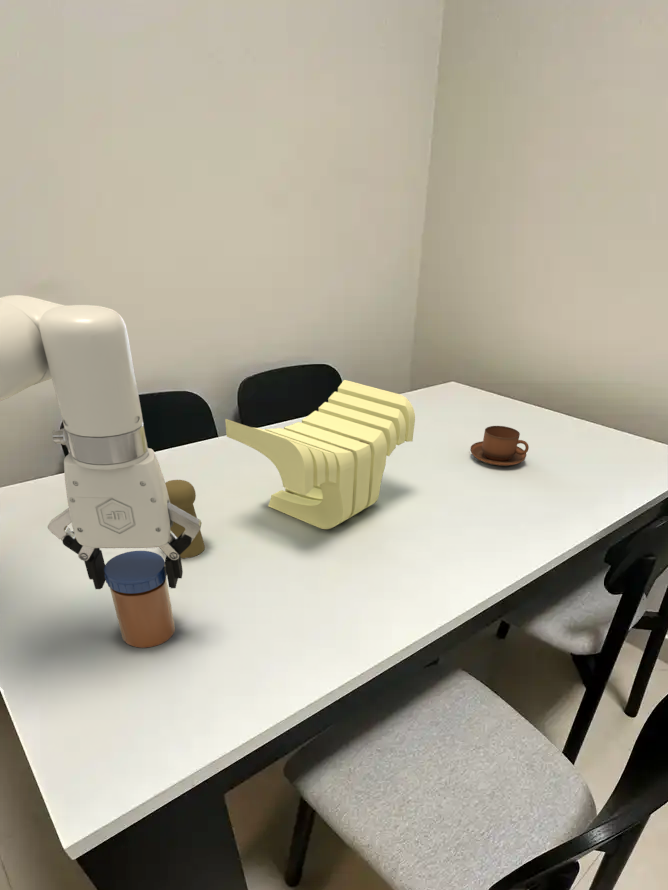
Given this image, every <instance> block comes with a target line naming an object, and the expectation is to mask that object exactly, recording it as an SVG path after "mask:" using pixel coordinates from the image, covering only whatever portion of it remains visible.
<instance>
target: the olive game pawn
mask: <svg viewBox="0 0 668 890" xmlns="http://www.w3.org/2000/svg"><path fill="white" fill-rule="evenodd" d="M165 484H166V488H167V492H168V495H169V500H170V503H171V504H172V505H174V506H176V507H178V508H180V509H181V510H183V511H185V512H187V513H189V514H190V515H192V516H194V517H196V518H198V517H197V513H196V510H195V505H194V504H195V501H196V499H197V498H196V496H197V494H196V490H195V487H194V486H193V484H192V483H191V482H189V481H187V480H184V479H171V480H168V481H165ZM170 530H171V531H172V532H173V534H174V535H175V536H176V537H177V538H178V537H179V536H180V535H181V534H182V533H183V532H184V531H185V528H184V527H183V526H181V525H179V524H177V523H175V522H174V521H173V526H172V527H171V528H170ZM205 549H206V545H205V542H204V538H203V534H202V531H201V529H200V530H199V532H198V533H197V535H196V536H195V538H194V539H193V541H192V542H191V544H190V546H189V547H188V548H187V549H186V550H185V551H184V552H182V553H181V554H180V557H181V559H188V558H189V559H190V558H193V557H197V556H199V555H200V554H202V553H203V552H204V550H205Z"/></svg>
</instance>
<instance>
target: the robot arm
mask: <svg viewBox="0 0 668 890" xmlns="http://www.w3.org/2000/svg"><path fill="white" fill-rule="evenodd" d="M129 337H130V336H129V332H128V328H127V323H126V322H125V320H124V318H123V316H122V315H120V313H119V312H118V311H116V310H114V309H112V308H109V307H107V306H101V305H94V304H70V305H66V304H62V303H57V302H53V301H49V300H45V299H42V298H39V297H34V296H31V295H22V294H11V295H5V296H4V295H3V296H1V297H0V402H2V401H4V400H7V399H9V398H11V397H12V396H15V395H17V394H18V393H20V392H22V391H25V390H26V389H28V388H30V387H32V386H36V385H38V384H41V383H43V382H46V381H48V380H51V381H52V385H53V388H54V392H55V396H56V400H57V404H58V409H59V412H60V416H61V420H62V424H63V428H60V429H53V430H52V435H51V437H52V441H53V443H54V444H56V445H57V444H59V445H60V444H61V445H63V446H65V447H66V448H67V451H68V454H67V455H66V456H65V457H64V458H63V472H64V483H65V492H66V500H67V506H68V508H66V509H64V510H63V511H62V512H60V513H59V514H58V515H56V516H55V517H54V518H52V519H51V520H50V521H49V523H48V525H47V529H48V531H49V532H51V534H52V535H54V536H55V537H56V538H57V539H58V540H61V542H62V545H63V546H64V547H66V548H68V549H69V550H70V551H71V552H74V553H75V554H77V557H78V559H79V560H80V561H83V562H84V566H85V569H86V573H87V576H88V579H89V580H92V582H93V585H94V589H95V590H101V589H103V587H104V585H105V583H106V579H105V572H104V567H105V565H106V562H105V558H104V555H103V551H102V549H155V548H159V549H160V550H161V551H162V552H163V553H164V554H165V555H166V556H165V559H164V561H165V567H166V572H167V576H166V579H167V585H168V588H170V589H176V588H177V584H178V580H179V579H182V578H183V574H184V572H183V565H182V564H183V563H182V558H181V557H180V554H181V553H182V552H184V551H185V550H186V549H187V548H188V547H189V546H190V544H191V542H192V541H193V539H194V538H195V536H196V535H197V533H198V532H199V530H201V527H202V520H201V519H199V518H198V517H197V518H196V517H194V516H192V515H190V514H189V513H187V512H185V511H183V510H181V509H180V508H178V507H176V506H174V505H172V504H171V503H170V500H169V495H168V492H167V488H166V484H165V483H166V481H165V477H164V473H163V472H162V468H161V465H160V463H159V461H158V458H157V455H156V452H155V451H154V449H152V448H149V447H148V442H147V436H146V428H145V425H144V424H145V423H144V419H143V412H142V407H141V402H140V401H141V400H140V396H139V395H140V394H139V390H138V384H137V377H136V373H135V367H134V359H133V356H132V348H131V343H130V338H129ZM173 521H174V522H175V523H177V524H179V525H181V526H183V527H184V528H185V531H184V532H183V533H182V534H181V535H180V536H179V537H178V538H177V537H176V536H175V535H174V534H173V532H172V531H171V530H170V528H171V527H172V526H173ZM69 525H71V527H72V530H71V528H70V527H69Z"/></svg>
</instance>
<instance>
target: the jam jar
mask: <svg viewBox="0 0 668 890" xmlns="http://www.w3.org/2000/svg"><path fill="white" fill-rule="evenodd" d="M109 589H110V590H109V591H110V594H111V598H112V602H113V607H114V609H115V614H116V619H117V622H118V626H119V630H120V633H121V637H122V640H123V641H124V643H126V644H127V645H129V646H131V647H134V648H140V649H141V648H142V649H143V648H144V649H145V648H153V647H157V646H159V645H162V644H164V643H166V642H167V641H169V640H170V639H171V638H172V637H173V635H174V634H175V631H176V626H175V620H174V615H173V609H172V608H173V607H172V603H171V597H170V591H169V584H168V579H167V578H166V579H165V580H164V582H163V583H162V584H161V585H159V586H158V587H156V588H154V589H152V590H149V591H146V592H141V593H132V594H129V593H121V592H117V591H115V590H113V589H111V588H110V587H109Z"/></svg>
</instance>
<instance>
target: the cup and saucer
mask: <svg viewBox="0 0 668 890" xmlns="http://www.w3.org/2000/svg"><path fill="white" fill-rule="evenodd" d="M520 435H521V432H520V431H518V430H517V429H515V428H512V427H509V426H505V425H490V426H487V427H485V428H484V434H483V439H482V441H476V442H475V443H473V444H472V445H471V446H470V453H471V454H472V456H473V457H474V458H476V460H478V461H480V462H482V463H485V464H488V465H492V466H500V467H503V466H504V467H507V466H508V467H509V466H514V465H518V464H521V463H522V462H523V461H524V460H526V457H527V453H528V452H529V448H530V447H529V443H528V442H527V441H526V440H524V439H523V440H522V439H520ZM519 444H523V445H524V447H525V449H523V448H522V447H520V446H518V445H519Z"/></svg>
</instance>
